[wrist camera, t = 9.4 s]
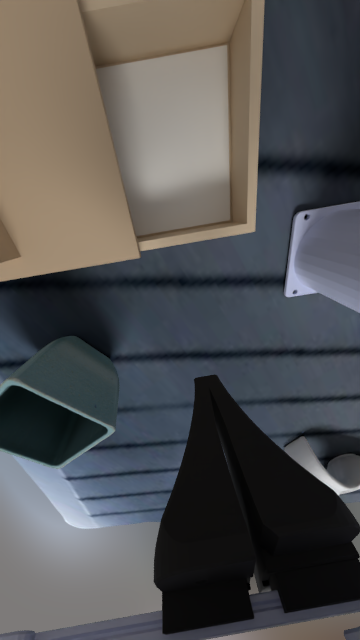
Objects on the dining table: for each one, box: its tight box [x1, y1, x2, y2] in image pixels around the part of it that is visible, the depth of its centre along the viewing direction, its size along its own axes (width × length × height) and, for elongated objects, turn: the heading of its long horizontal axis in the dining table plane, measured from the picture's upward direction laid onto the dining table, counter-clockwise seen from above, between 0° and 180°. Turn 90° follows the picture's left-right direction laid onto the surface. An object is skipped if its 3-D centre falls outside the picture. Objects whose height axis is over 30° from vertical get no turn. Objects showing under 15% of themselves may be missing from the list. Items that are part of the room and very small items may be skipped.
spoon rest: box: [284, 436, 360, 496], centre depth 36 cm, size 24×12×7 cm, turn 57°
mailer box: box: [79, 0, 265, 251], centre depth 13 cm, size 16×11×4 cm
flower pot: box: [0, 336, 119, 469], centre depth 19 cm, size 9×9×9 cm
